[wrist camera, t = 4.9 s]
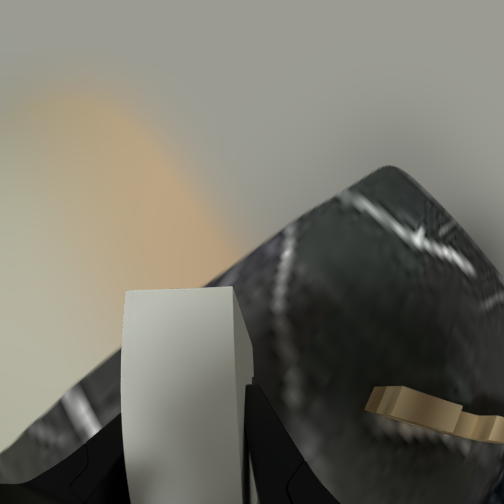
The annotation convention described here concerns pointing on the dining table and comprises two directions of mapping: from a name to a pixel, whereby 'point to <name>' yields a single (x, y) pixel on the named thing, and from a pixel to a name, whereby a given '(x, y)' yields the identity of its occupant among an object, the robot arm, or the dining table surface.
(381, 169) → the dining table surface
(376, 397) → the notched base plate
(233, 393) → the grey tapered block
